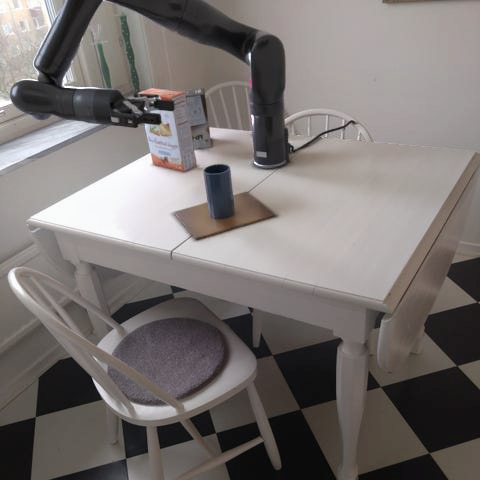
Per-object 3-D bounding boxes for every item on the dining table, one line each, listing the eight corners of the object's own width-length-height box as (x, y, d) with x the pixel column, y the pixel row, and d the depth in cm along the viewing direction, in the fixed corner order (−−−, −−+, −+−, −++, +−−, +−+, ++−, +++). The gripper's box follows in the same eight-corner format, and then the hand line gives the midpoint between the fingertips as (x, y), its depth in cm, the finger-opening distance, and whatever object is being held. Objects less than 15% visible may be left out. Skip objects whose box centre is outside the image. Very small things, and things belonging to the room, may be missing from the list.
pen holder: (228, 205, 122) (223, 161, 115) (239, 214, 117) (234, 169, 111) (205, 211, 120) (199, 168, 114) (215, 221, 116) (209, 176, 109)
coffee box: (211, 147, 159) (205, 94, 149) (192, 149, 159) (184, 96, 149) (210, 138, 166) (204, 87, 156) (191, 140, 166) (184, 89, 156)
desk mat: (246, 193, 128) (245, 191, 128) (274, 216, 116) (274, 214, 116) (173, 213, 122) (173, 212, 122) (196, 240, 111) (195, 238, 110)
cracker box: (151, 164, 151) (136, 92, 138) (166, 158, 155) (152, 86, 142) (183, 173, 143) (170, 96, 131) (197, 165, 147) (186, 91, 134)
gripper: (81, 99, 103) (154, 105, 100) (109, 79, 113) (176, 84, 110) (88, 135, 108) (158, 142, 105) (115, 112, 118) (179, 118, 115)
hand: (167, 112), depth 108 cm, fingers open, 8 cm apart
